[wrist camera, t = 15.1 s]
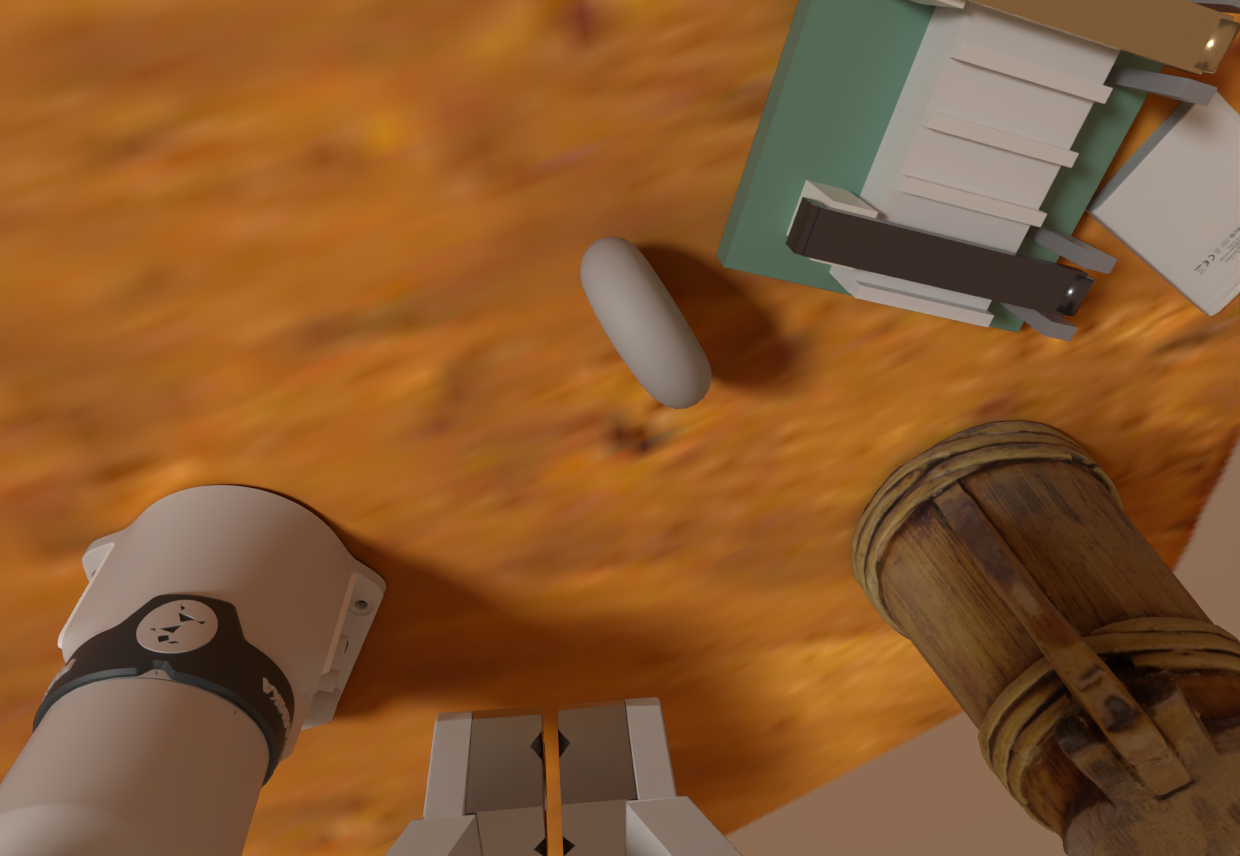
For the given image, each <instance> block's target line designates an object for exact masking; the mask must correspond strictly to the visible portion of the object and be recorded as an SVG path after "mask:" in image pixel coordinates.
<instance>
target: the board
mask: <svg viewBox="0 0 1240 856" xmlns="http://www.w3.org/2000/svg"><path fill="white" fill-rule="evenodd" d="M1187 1H1190V2H1193V3H1196V4H1198V5H1201V6H1204V7H1207V8H1210V9H1213V10H1216V11H1219V12H1225V13H1238V14H1240V0H1187ZM1163 66H1164V65H1163V64H1160V63H1156V62H1153V61H1150V60H1147V59H1144V58H1141V57H1138V56H1135V55H1132V54H1129V53H1126V52H1122V51H1119V50H1116V49H1113V48H1110V47H1107V46H1104V45H1101V44H1098V43H1095V42H1092V41H1088V40H1085V39H1082V38H1079V37H1076V36H1073V35H1070V34H1067V33H1064V32H1061V31H1058V30H1054V29H1051V28H1048V27H1045V26H1042V25H1039V24H1036V23H1033V22H1030V21H1027V20H1024V19H1020V18H1017V17H1014V16H1011V15H1008V14H1005V13H1002V12H999V11H996V10H993V9H990V8H986V7H983V6H980V5H977V4H974V3H971V2H968V1H965V0H799V2H798V5H797V8H796V12H795V15H794V18H793V21H792V24H791V27H790V30H789V33H788V36H787V39H786V42H785V45H784V49H783V52H782V55H781V58H780V61H779V64H778V67H777V70H776V73H775V76H774V79H773V82H772V85H771V89H770V92H769V95H768V98H767V101H766V104H765V107H764V110H763V113H762V116H761V119H760V122H759V126H758V129H757V132H756V135H755V138H754V141H753V144H752V147H751V150H750V153H749V156H748V159H747V163H746V166H745V169H744V172H743V175H742V178H741V181H740V184H739V187H738V190H737V193H736V196H735V200H734V203H733V206H732V209H731V212H730V215H729V218H728V221H727V224H726V227H725V230H724V233H723V237H722V240H721V243H720V246H719V249H718V252H717V257H718V259H719V260H720V262H721V263H722V265H723V266H724V267H726V268H731V269H735V270H740V271H744V272H749V273H753V274H758V275H762V276H767V277H771V278H776V279H780V280H785V281H789V282H794V283H798V284H803V285H807V286H811V287H816V288H820V289H825V290H829V291H834V292H838V293H843V294H847V295H852V296H854V297H855V298H858V299H863V300H867V301H872V302H876V303H881V304H885V305H889V306H894V307H898V308H903V309H907V310H912V311H916V312H921V313H925V314H930V315H934V316H939V317H943V318H948V319H952V320H957V321H961V322H966V323H970V324H975V325H979V326H984V327H989V326H990V327H995V328H999V329H1004V330H1008V331H1013V332H1017V333H1018V332H1019V330H1020V328H1021V326H1022V324H1023V323H1024V321H1025V322H1026V323H1027V324H1029V325H1030V326H1032V327H1033V328H1034V329H1036V330H1037V331H1038V332H1040V333H1041V334H1043V335H1044V336H1048V337H1052V338H1057V339H1061V340H1065V341H1071V339H1072V337H1073V335H1074V334H1075V332H1076V330H1077V329H1078V328H1077V327H1076V326H1074V325H1073V324H1071V323H1070V322H1068V321H1067V320H1065V319H1064V318H1062V317H1061V316H1058V315H1054V314H1050V313H1045V312H1041V311H1037V310H1032V309H1028V308H1024V307H1020V306H1015V305H1011V304H1007V303H1002V302H998V301H994V300H989V299H985V298H981V297H976V296H972V295H968V294H964V293H959V292H955V291H951V290H946V289H942V288H938V287H933V286H929V285H925V284H920V283H916V282H912V281H908V280H903V279H899V278H895V277H890V276H886V275H882V274H877V273H873V272H869V271H865V270H860V269H856V268H852V267H847V266H843V265H839V264H834V263H830V262H826V261H821V260H817V259H813V258H809V257H804V256H802V255H798V254H794V252H793V251H792V250H791V249H790V248H789V247H788V246H787V245H786V244H785V243H786V241H787V238H788V235H789V233H790V230H791V227H792V224H793V222H794V219H795V216H796V213H797V211H798V208H799V205H800V202H801V200H802V197H806V198H810V199H814V200H818V201H819V202H820V203H821V204H823V205H825V206H829V207H833V208H837V209H841V210H845V211H849V212H853V213H857V214H861V215H865V216H869V217H873V218H877V219H881V220H885V221H889V222H893V223H897V224H901V225H905V226H909V227H913V228H917V229H921V230H925V231H929V232H933V233H937V234H941V235H945V236H949V237H953V238H957V239H961V240H965V241H969V242H973V243H977V244H981V245H985V246H989V247H994V248H998V249H1002V250H1006V251H1010V252H1014V253H1018V254H1022V255H1026V256H1030V257H1034V258H1038V259H1042V260H1046V261H1050V262H1054V263H1056V262H1057V260H1058V258H1059V256H1060V255H1061V256H1062V257H1064V258H1066V259H1068V260H1070V261H1071V262H1073V263H1075V264H1077V265H1079V266H1080V267H1082V268H1086V269H1090V270H1094V271H1098V272H1102V273H1106V274H1110V272H1111V270H1112V269H1113V267H1114V265H1115V263H1116V262H1117V260H1118V259H1116V258H1114V257H1112V256H1110V255H1108V254H1106V253H1104V252H1102V251H1100V250H1098V249H1096V248H1094V247H1092V246H1090V245H1088V244H1086V243H1084V242H1082V241H1080V240H1078V239H1076V238H1074V237H1073V236H1071V234H1072V233H1073V231H1074V229H1075V227H1076V225H1077V223H1078V222H1079V220H1080V218H1081V216H1082V214H1083V212H1084V211H1085V209H1086V207H1087V205H1088V203H1089V201H1090V200H1091V198H1092V196H1093V194H1094V192H1095V190H1096V189H1097V187H1098V185H1099V183H1100V181H1101V179H1102V178H1103V176H1104V174H1105V172H1106V170H1107V168H1108V167H1109V165H1110V163H1111V161H1112V159H1113V157H1114V156H1115V154H1116V152H1117V150H1118V148H1119V146H1120V145H1121V143H1122V141H1123V139H1124V137H1125V135H1126V134H1127V132H1128V130H1129V128H1130V126H1131V124H1132V123H1133V121H1134V119H1135V117H1136V115H1137V113H1138V112H1139V110H1140V108H1141V106H1142V104H1143V102H1144V101H1145V99H1146V97H1147V95H1148V94H1152V95H1157V96H1162V97H1167V98H1171V99H1176V100H1181V101H1185V102H1190V103H1195V104H1200V105H1204V106H1208V104H1209V102H1210V101H1211V99H1212V97H1213V96H1214V94H1215V92H1216V90H1217V89H1218V88H1217V87H1214V86H1211V85H1208V84H1205V83H1202V82H1199V81H1195V80H1192V79H1189V78H1183V77H1178V76H1172V75H1166V74H1161V73H1160V71H1161V69H1162V67H1163Z"/></svg>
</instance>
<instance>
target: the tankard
mask: <svg viewBox="0 0 1240 856" xmlns="http://www.w3.org/2000/svg"><path fill="white" fill-rule="evenodd" d="M851 559H852V567H853V571H854V575H855V579H856V580H857V582H858V583H859V584H860V585H861V587H862V588H863V590H864V592H865V595H866V597H867V598H868V599H869V601H870V602H871V603H872V604H873V606H874V607H875V608H876V609H877V611H878V612H879V614H880V615H881V617H882V618H883V619H884V620H885V621H886V622H887V623H888V624H889V625H890V626H891V627H892V628H893V629H894V630H896V631H897V632H898V633H900V634H901V635H903V636H904V637H906V638H907V639H909V640H911V642H912V643H913V644H914V646H915V647H916V648H917V650H918V651H919V652H920V653H921V655H922V656H923V657H924V659H925V660H926V661H927V663H928V664H929V665H930V667H931V668H932V669H933V671H934V672H935V673H936V675H937V676H938V677H939V678H940V680H941V681H942V682H943V684H944V685H945V686H946V687H947V689H948V690H949V691H950V693H951V694H952V695H953V697H954V698H955V699H956V700H957V702H958V703H959V704H960V706H961V707H962V708H963V710H964V711H965V712H966V714H967V715H968V716H969V717H970V719H971V720H972V722H973V723H974V724H975V726H976V727H977V728H978V730H979V734H978V739H979V743H980V748H981V753H982V756H983V758H984V759H985V761H986V763H987V765H988V766H989V768H990V769H991V770H992V771H993V773H994V774H995V775H996V776H997V777H998V779H999V780H1000V781H1001V782H1002V784H1003V785H1004V787H1005V788H1006V789H1007V791H1008V792H1009V794H1010V795H1011V796H1012V797H1013V798H1014V799H1015V800H1016V801H1018V803H1019V804H1020V805H1021V806H1022V807H1023V809H1024V810H1025V811H1026V812H1027V814H1028V815H1029V816H1030V817H1031V818H1032V819H1033V820H1035V821H1036V822H1037V823H1039V824H1040V825H1042V826H1043V827H1045V828H1046V829H1048V830H1050V831H1052V832H1054V833H1056V834H1058V835H1059V836H1060V837H1061V839H1062V840H1063V847H1064V851H1065V853H1066V854H1067V855H1068V856H1240V642H1239V640H1238V639H1237V638H1236V637H1234V636H1233V635H1232V634H1230V633H1229V632H1227V631H1226V630H1224V629H1222V628H1221V627H1219V626H1217V625H1214V624H1213V623H1212V621H1210V619H1209V618H1208V617H1207V615H1206V614H1205V613H1204V612H1203V610H1202V609H1201V608H1200V607H1199V605H1198V604H1197V603H1196V601H1195V600H1194V599H1193V598H1192V597H1191V595H1190V594H1189V593H1188V591H1187V590H1186V589H1185V588H1184V587H1183V585H1182V584H1181V583H1180V581H1179V580H1178V579H1177V578H1176V576H1175V575H1174V574H1173V573H1172V572H1171V571H1170V569H1169V568H1168V567H1167V566H1166V565H1165V564H1164V562H1163V561H1162V560H1161V558H1160V557H1159V556H1158V555H1157V553H1156V552H1155V551H1154V549H1153V548H1152V547H1151V546H1150V544H1149V543H1148V542H1147V541H1146V539H1145V538H1144V537H1143V536H1142V534H1141V533H1140V532H1139V531H1138V529H1137V528H1136V527H1135V526H1134V524H1133V523H1132V522H1131V520H1130V519H1129V518H1128V517H1127V515H1126V514H1125V513H1124V511H1123V503H1122V500H1121V498H1120V496H1119V494H1118V491H1117V489H1116V487H1115V484H1114V483H1113V482H1112V480H1111V479H1110V478H1109V477H1108V475H1107V474H1106V473H1105V472H1104V471H1103V470H1102V468H1101V467H1100V466H1099V465H1098V463H1097V462H1096V461H1095V460H1094V459H1093V458H1092V457H1091V456H1090V455H1089V454H1088V453H1087V452H1086V451H1085V450H1084V449H1083V448H1082V447H1081V446H1080V445H1079V444H1078V443H1076V442H1075V441H1073V440H1072V439H1070V438H1069V437H1067V436H1066V435H1064V434H1062V433H1061V432H1059V431H1057V430H1055V429H1053V428H1052V427H1050V426H1046V425H1043V424H1040V423H1033V422H1025V421H1001V422H994V423H987V424H983V425H980V426H976V427H973V428H971V429H968V430H965V431H962V432H960V433H957V434H955V435H953V436H951V437H949V438H947V439H945V440H943V441H941V442H939V443H937V444H935V445H934V446H933V447H932V448H930V449H928V450H927V451H925V452H924V453H922V454H921V455H919V456H917V457H915V458H913V459H912V460H910V461H909V462H908V463H906V464H905V465H902V466H900V467H898V468H897V469H896V470H895V471H894V472H893V473H892V474H891V475H890V476H889V477H888V478H887V479H886V481H885V482H884V483H883V485H882V486H881V487H880V488H879V489H878V490H877V492H876V493H875V494H874V496H873V497H872V499H871V500H870V502H869V503H868V505H867V506H866V508H865V509H864V512H863V514H862V516H861V518H860V521H859V523H858V525H857V528H856V531H855V534H854V537H853V540H852V546H851Z"/></svg>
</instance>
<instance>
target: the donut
mask: <svg viewBox="0 0 1240 856" xmlns="http://www.w3.org/2000/svg"><path fill="white" fill-rule="evenodd" d="M580 275H581V283H582V286H583V289H584V291H585V294H586V296H587V298H588V300H589V303H590V305H591V307H592V309H593V311H594V313H595V314H596V316H597V318H598V320H599V322H600V323H601V325H602V327H603V329H604V331H605V332H606V334H607V336H608V337H609V339H610V340H611V342H612V344H613V345H614V347H615V348H616V350H617V352H618V353H619V354H620V356H621V357H622V359H623V360H624V362H625V363H626V365H627V366H628V368H629V369H630V370H631V372H632V373H633V374H634V376H635V377H636V378H637V379H638V381H639V382H640V383H641V385H642V386H643V387H644V388H645V389H646V391H647V392H648V393H649V394H650V395H651V396H652V397H653V398H654V399H656V400H657V401H659V402H661V403H662V404H664V405H665V406H667V407H671V408H675V409H682V408H688V407H691V406H693V405H695V404H697V403H698V402H699V401H700V400H701V399H703V398H704V396H705V394H706V393H707V391H708V390H709V387H710V383H711V379H712V374H711V367H710V364H709V362H708V360H707V357H706V355H705V353H704V351H703V349H702V347H701V345H700V344H699V342H698V340H697V338H696V337H695V335H694V333H693V331H692V330H691V328H690V326H689V325H688V323H687V321H686V320H685V318H684V316H683V315H682V313H681V311H680V310H679V308H678V307H677V305H676V303H675V302H674V300H673V298H672V297H671V295H670V294H669V292H668V291H667V289H666V287H665V286H664V284H663V283H662V281H661V280H660V278H659V277H658V275H657V274H656V272H655V271H654V269H653V268H652V266H651V265H650V264H649V262H648V261H647V259H646V258H645V257H644V256H643V254H642V253H641V252H640V251H639V249H638V248H637V247H636V246H635V245H634V244H632V243H631V242H629V241H627V240H626V239H624V238H619V237H604V238H602V239H600V240H598V241H595V242H594V243H593V244H592V245H591V246H590V247H589V248H588V249H587V250H586V252H585V254H584V256H583V258H582V263H581V269H580Z"/></svg>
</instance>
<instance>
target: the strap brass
mask: <svg viewBox="0 0 1240 856" xmlns="http://www.w3.org/2000/svg"><path fill="white" fill-rule="evenodd" d="M965 1H968V2H971V3H974V4H977V5H980V6H983V7H986V8H990V9H993V10H996V11H999V12H1002V13H1005V14H1008V15H1011V16H1014V17H1017V18H1020V19H1024V20H1027V21H1030V22H1033V23H1036V24H1039V25H1042V26H1045V27H1048V28H1051V29H1054V30H1058V31H1061V32H1064V33H1067V34H1070V35H1073V36H1076V37H1079V38H1082V39H1085V40H1088V41H1092V42H1095V43H1098V44H1101V45H1104V46H1107V47H1110V48H1113V49H1116V50H1119V51H1122V52H1126V53H1129V54H1132V55H1135V56H1138V57H1141V58H1144V59H1147V60H1150V61H1153V62H1156V63H1160V64H1163V65H1166V66H1169V67H1172V68H1175V69H1178V70H1181V71H1184V72H1187V73H1192V74H1198V75H1202V73H1203V72H1206V73H1211V74H1214V73H1215V71H1216V70H1217V68H1218V66H1219V65H1220V63H1221V61H1222V59H1223V58H1224V56H1225V54H1226V52H1227V51H1228V49H1229V47H1230V45H1231V44H1232V42H1233V40H1234V38H1235V37H1236V35H1237V33H1238V32H1239V30H1240V23H1237V22H1234V21H1232V20H1233V18H1234V17H1233V16H1230V15H1227V14H1224V13H1221V12H1219V11H1216V10H1213V9H1210V8H1207V7H1204V6H1201V5H1198V4H1196V3H1193V2H1190V1H1187V0H965Z"/></svg>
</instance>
